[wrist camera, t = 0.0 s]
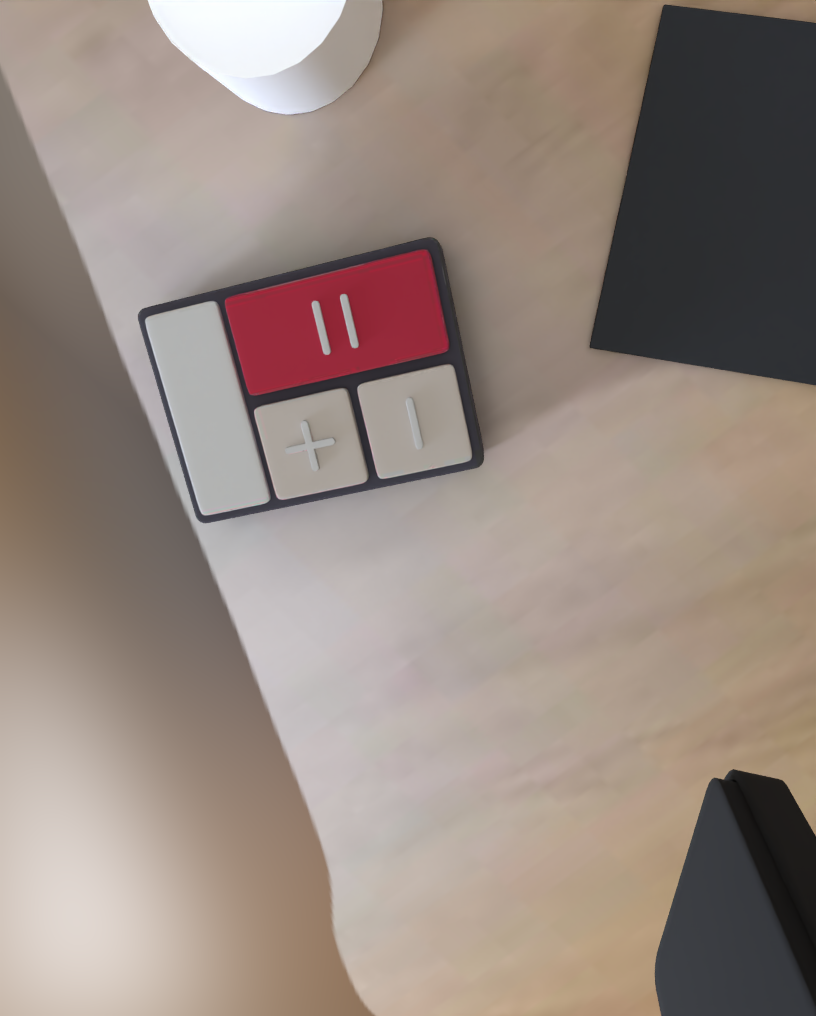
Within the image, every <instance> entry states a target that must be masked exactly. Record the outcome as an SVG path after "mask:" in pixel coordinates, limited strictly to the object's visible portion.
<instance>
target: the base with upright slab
mask: <svg viewBox="0 0 816 1016" xmlns="http://www.w3.org/2000/svg"><path fill="white" fill-rule="evenodd" d="M148 2H149V5H150V7H151V10H152V13H153V15H154V17H155V19H156V20H157V22H158V23H159V25H160V26H161V28H162V29H163V31H164V32H165V34H166V35H167V37H168V38H169V40H170V41H171V42H172V43H173V44H174V45H175V46H176V47H177V48H178V49H180V50H181V51H182V52H183V53H184V54H185V55H186V56H187V57H189V58H190V59H191V60H192V61H193V62H194V63H196V64H197V65H198V66H200V67H201V68H202V69H203V70H205V71H206V72H207V73H209V74H210V75H211V76H213V77H214V78H215V79H216V80H218V81H219V82H220V83H222V84H223V85H224V86H226V87H227V88H228V89H229V90H231V91H232V92H233V93H235V94H236V95H237V96H239V97H240V98H241V99H243V100H244V101H246V102H248V103H250V104H252V105H254V106H256V107H258V108H260V109H262V110H264V111H269V112H275V113H281V114H287V115H290V114H297V113H305V112H312V111H314V110H316V109H318V108H321V107H323V106H325V105H327V104H330V103H332V102H334V101H335V100H336V99H338V98H339V97H340V96H341V95H342V94H343V93H345V92H346V91H347V90H348V89H349V88H351V87H352V86H353V85H354V83H355V82H356V81H357V79H358V78H359V76H360V75H361V74H362V72H363V71H364V69H365V68H366V67H367V65H368V64H369V61H370V59H371V56H372V54H373V51H374V49H375V46H376V44H377V41H378V39H379V32H380V26H381V19H382V12H383V6H382V0H148Z"/></svg>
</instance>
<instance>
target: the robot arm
mask: <svg viewBox="0 0 816 1016" xmlns="http://www.w3.org/2000/svg"><path fill="white" fill-rule="evenodd" d="M655 985H656V991H657V996H658V1001H659V1006H660V1011H661V1016H816V836H815V834H814V833H813V831H812V829H811V827H810V826H809V824H808V822H807V820H806V819H805V817H804V815H803V813H802V811H801V810H800V808H799V806H798V804H797V803H796V801H795V799H794V797H793V796H792V794H791V792H790V790H789V788H788V787H787V785H786V784H785V783H784V782H783V780H779V779H775V778H771V777H766V776H762V775H757V774H752V773H748V772H743V771H738V770H734V769H733V770H731V771H729V773H728V774H727V775H726V777H725V779H724V780H723V779H718V778H714V779H712V780H711V781H710V783H709V785H708V788H707V790H706V794H705V797H704V800H703V804H702V807H701V810H700V813H699V817H698V820H697V823H696V827H695V830H694V833H693V836H692V840H691V843H690V846H689V850H688V853H687V856H686V859H685V863H684V866H683V869H682V873H681V876H680V879H679V883H678V886H677V889H676V892H675V896H674V899H673V902H672V906H671V909H670V912H669V915H668V919H667V922H666V925H665V929H664V932H663V935H662V938H661V942H660V945H659V948H658V952H657V956H656V963H655Z"/></svg>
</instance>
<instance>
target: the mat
mask: <svg viewBox="0 0 816 1016" xmlns="http://www.w3.org/2000/svg"><path fill="white" fill-rule="evenodd" d="M590 348H595V349H601V350H607V351H613V352H619V353H625V354H631V355H637V356H643V357H649V358H655V359H661V360H667V361H673V362H679V363H685V364H691V365H697V366H703V367H709V368H715V369H721V370H728V371H734V372H740V373H746V374H752V375H758V376H764V377H770V378H776V379H782V380H788V381H794V382H800V383H806V384H812V385H816V23H811V22H803V21H795V20H787V19H779V18H770V17H762V16H754V15H746V14H738V13H729V12H721V11H713V10H705V9H697V8H688V7H680V6H672V5H664V6H663V10H662V15H661V19H660V24H659V28H658V33H657V38H656V42H655V47H654V52H653V56H652V61H651V65H650V70H649V75H648V79H647V84H646V88H645V93H644V98H643V102H642V107H641V111H640V116H639V121H638V125H637V130H636V135H635V139H634V144H633V148H632V153H631V158H630V162H629V167H628V171H627V176H626V181H625V185H624V190H623V195H622V199H621V204H620V208H619V213H618V218H617V222H616V227H615V231H614V236H613V241H612V245H611V250H610V255H609V259H608V264H607V268H606V273H605V278H604V282H603V287H602V291H601V296H600V301H599V305H598V310H597V315H596V319H595V324H594V328H593V333H592V338H591V342H590Z"/></svg>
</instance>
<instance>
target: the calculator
mask: <svg viewBox="0 0 816 1016" xmlns="http://www.w3.org/2000/svg"><path fill="white" fill-rule="evenodd" d="M138 320H139V324H140V328H141V331H142V335H143V338H144V341H145V345H146V348H147V352H148V355H149V358H150V362H151V365H152V369H153V372H154V375H155V379H156V382H157V386H158V389H159V392H160V396H161V399H162V403H163V406H164V409H165V413H166V416H167V420H168V423H169V426H170V430H171V433H172V437H173V440H174V443H175V447H176V450H177V454H178V457H179V460H180V464H181V467H182V471H183V474H184V477H185V481H186V484H187V488H188V491H189V494H190V498H191V501H192V505H193V508H194V511H195V514H196V517H197V519H198V520H199V521H200V522H202V523H210V522H215V521H220V520H225V519H230V518H235V517H240V516H245V515H249V514H254V513H259V512H264V511H269V510H274V509H279V508H284V507H289V506H293V505H298V504H303V503H308V502H313V501H318V500H323V499H328V498H332V497H337V496H342V495H347V494H352V493H357V492H362V491H367V490H372V489H376V488H381V487H386V486H391V485H396V484H401V483H406V482H411V481H416V480H420V479H425V478H430V477H435V476H440V475H445V474H450V473H455V472H460V471H464V470H469V469H474V468H477V467H479V466H481V465H482V463H483V460H484V450H483V444H482V439H481V434H480V429H479V424H478V419H477V415H476V410H475V405H474V400H473V395H472V390H471V385H470V381H469V376H468V371H467V366H466V361H465V356H464V351H463V347H462V342H461V337H460V332H459V327H458V322H457V317H456V313H455V308H454V303H453V298H452V293H451V288H450V283H449V279H448V274H447V269H446V264H445V259H444V255H443V250H442V248H441V246H440V244H439V242H438V241H437V240H436V239H435V238H431V237H429V238H424V239H420V240H416V241H412V242H407V243H403V244H399V245H395V246H391V247H387V248H383V249H379V250H375V251H371V252H367V253H363V254H359V255H355V256H351V257H347V258H343V259H339V260H335V261H331V262H327V263H323V264H319V265H315V266H311V267H307V268H303V269H299V270H295V271H291V272H287V273H283V274H279V275H275V276H271V277H267V278H263V279H259V280H255V281H251V282H247V283H243V284H239V285H235V286H231V287H227V288H223V289H219V290H215V291H211V292H207V293H203V294H199V295H195V296H191V297H187V298H183V299H179V300H175V301H171V302H167V303H163V304H159V305H155V306H151V307H147V308H144V309H142V310H141V311H140V312H139V314H138Z"/></svg>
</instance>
